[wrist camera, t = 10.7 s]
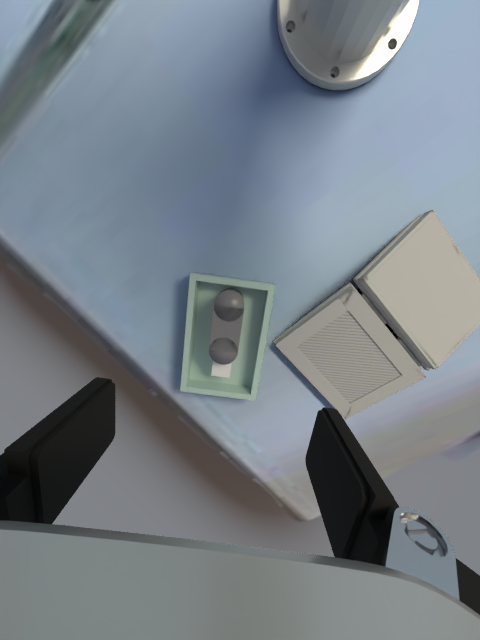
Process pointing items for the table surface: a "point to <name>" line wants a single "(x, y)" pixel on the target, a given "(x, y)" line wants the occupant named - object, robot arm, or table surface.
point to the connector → (226, 331)
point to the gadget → (388, 320)
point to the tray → (250, 343)
